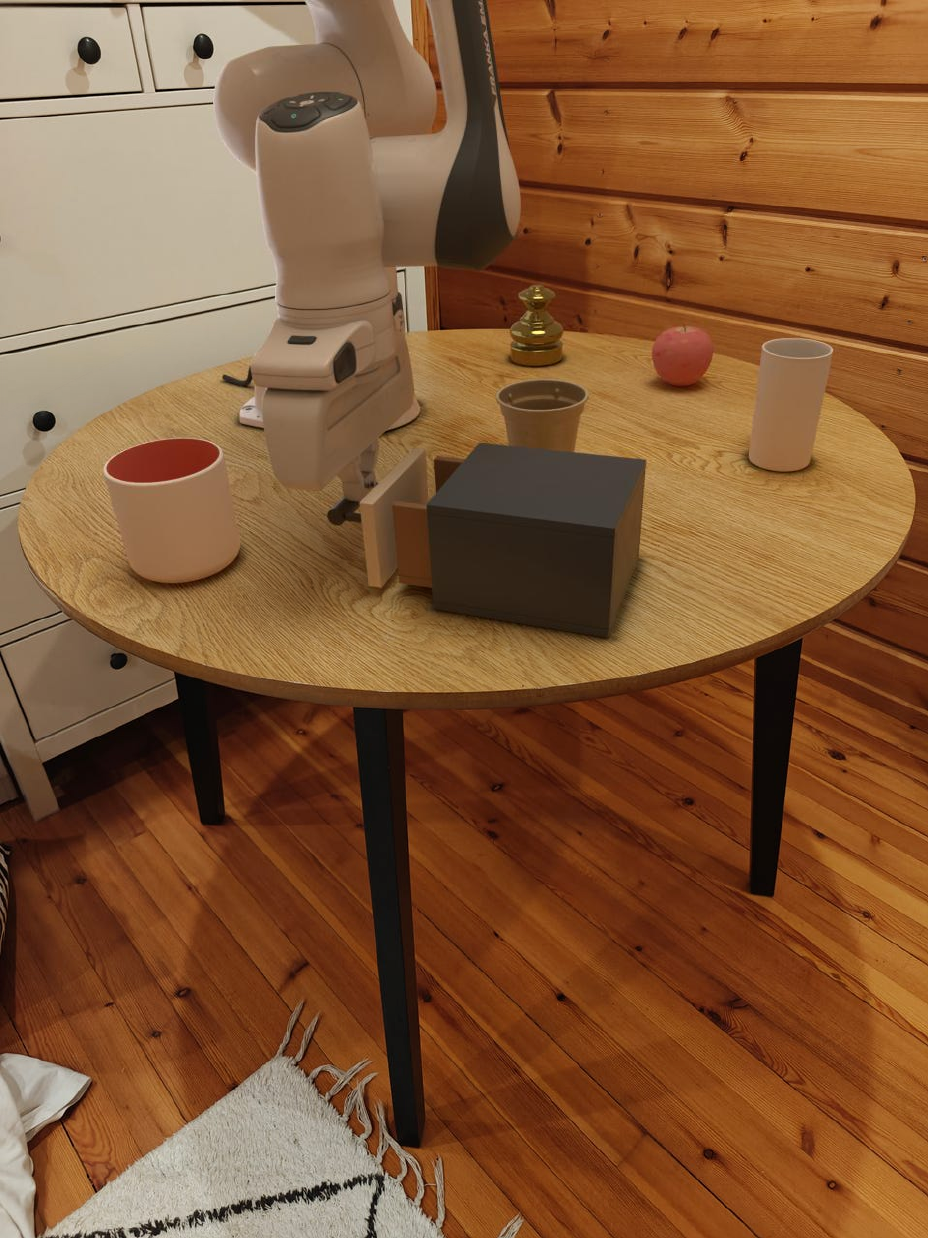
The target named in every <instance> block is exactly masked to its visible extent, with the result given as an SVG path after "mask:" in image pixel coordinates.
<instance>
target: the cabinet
mask: <svg viewBox="0 0 928 1238" xmlns="http://www.w3.org/2000/svg"><path fill="white" fill-rule="evenodd" d="M464 459H465V460H464V461H463V462H462V463H461V465H460V466H459V467H458V468H457V469H456V471H455V472H454V473H453V474H452V475H451V476H450V478H449V479H448V480H447V481H446V482H445V483H444V485H443V486H442V487H441V488H440V489H439V490H438V492H437V493H436V492H435V494H434V495H433V496H432V497H431V498H430V499H429V502H428V503H427V505H426V506H427V518H428V533H429V548H430V563H431V578H432V588H431V590H432V591H431V592H432V606H433V610H436V611H441V612H448V613H454V614H459V615H464V616H465V615H466V616H472V617H476V618H477V617H478V618H483V619H484V618H485V619H491V620H497V621H502V622H509V623H513V624H520V625H521V624H522V625H527V626H532V627H539V628H543V629H545V628H546V629H551V630H557V631H562V632H563V631H564V632H569V633H574V634H582V635H587V636H588V635H589V636H594V637H599V638H600V637H601V638H606V639H608V638H610V634H611V632H612V630H613V627H614V625H615V622H616V620H617V617H618V614H619V612H620V609H621V607H622V604H623V601H624V599H625V596H626V593H627V591H628V588H629V586H630V583H631V581H632V578H633V576H634V573H635V570H636V568H637V565H638V562H639V560H640V559H639V558H640V546H641V545H640V544H641V532H642V521H643V520H642V519H643V507H644V495H645V494H644V493H645V482H646V470H647V459H644V458H636V457H634V458H633V457H625V456H616V455H614V456H613V455H605V454H595V453H586V452H575V451H574V452H567V451H557V450H547V449H538V448H528V447H518V446H509V444H496V443H490V442H489V443H488V442H478V443H477V445H476V446H475V447H474V448H473V449H472V451H471V452H470V453H469V454H468V455H467V456H466V457H465V458H464Z"/></svg>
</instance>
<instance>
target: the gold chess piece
mask: <svg viewBox="0 0 928 1238" xmlns="http://www.w3.org/2000/svg"><path fill="white" fill-rule="evenodd" d="M555 298H556V293H555V292H554V291H553V290H551V289H549V288H547V287H545V286H544V285H542V284H532V285H530V286H529V287H528V288H525V289H523V290H522V291H520V292H519V293H518V299H519V300H520V301H521V302H522V303H523V304H524V305H525V307H526V311H525V313H524V314H523V315H522V316H520V318H519V320H518V321H515V323H513V324H512V325H511V326H510V329H509V336H510V338H511V340H512V341H511V342H510V343H509V347H510V360H511V361H512V362H513V363H516V364H517V365H520V366H527V367H545V366H551V365H553V364H556V363H559V362H560V361H561V360H562V359H563V346H564V343H563V341H562V340H560V339H561V338H562V337H563V335H564V327H563V325H562V324H561V323H559V321H556V320H554V317H553V316H551V315H550V313H549V312H548V310H547V307H548V305H549V304H550V303H551V302H552V301H553V300H554V299H555Z"/></svg>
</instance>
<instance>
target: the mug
mask: <svg viewBox="0 0 928 1238" xmlns="http://www.w3.org/2000/svg"><path fill="white" fill-rule="evenodd" d="M833 353H834V348H833V346H831V345H829V344H827V343H826V342H822V341H819V340H815V339H811V338H810V339H809V338H801V337H787V338H786V337H783V338H775V339H770V340H768V341H766V342H764V343H763V344H762V345H761V354H760V360H759V368H758V375H757V383H756V392H755V401H754V410H753V418H752V425H751V426H752V427H751V435H750V443H749V453H748V459H749V461H750V462H751V463H752V464H753V465H754V466H756V467H758V468H761V469H764V470H767V471H773V472H785V473H786V472H795V471H800V470H803V469H805V468H807V467H808V466H809V465H810V463H811V457H812V453H813V450H814V449H813V448H814V444H815V441H816V437H817V431H818V425H819V421H820V416H821V413H822V407H823V403H824V398H825V394H826V389H827V384H828V380H829V375H830V371H831V370H830V369H831V364H832V357H833Z"/></svg>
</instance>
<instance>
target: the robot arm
mask: <svg viewBox="0 0 928 1238" xmlns="http://www.w3.org/2000/svg"><path fill="white" fill-rule="evenodd" d="M303 1H304V2H305V4H306V7H307V8H308V10H309V13H310V16H311V20H312V23H313V26H314V32H315V43H309V44H308V43H307V44H294V45H293V44H292V45H291V44H290V45H275V46H267V47H263V48H261V49H258V50H254V51H251V52H248V53H246V54H243V55H241V56H239V57H236V58H233V59H231V60H229V61H227V62H226V63H224V65H223V67H222V68H221V70H220V71H219V73H218V76H217V79H216V81H215V85H214V90H213V102H212V103H213V104H212V107H213V115H214V122H215V125H216V128H217V131H218V133H219V136H220V138H221V140H222V142H223V144H224V146H225V147H226V148H227V150H228V151H229V152H230V154H231V155H232V157H233V158H234V159H236V160H237V162H239V164H241V165H242V166H244V167H245V168H247V169H248V170H250V171H251V172H252V173H253V174H255V175H256V183H257V193H258V200H259V209H260V215H261V216H260V217H261V222H262V229H263V234H264V240H265V243H266V246H267V248H268V250H269V252H270V255H271V257H272V260H273V263H274V267H275V277H276V278H275V279H276V280H275V289H274V299H275V304H276V310H277V316H278V317H277V318H275V319H274V321H273V323H272V325H271V328H270V330H269V331H268V334H267V336H266V338H265V339H264V340H263V343H262V344H261V345H260V347H259V348H258V349H257V351H256V352H255V354H254V355H253V357H252V358H251V362H250V365H249V367H248V372H247V375H246V376H247V377H246V379H244V380H240V379H237V378H235V377H232V376H230V375H228V374H222V376H221V378H222V380H224V381H226V382H229V383H231V384H233V385H235V386H239V387H247V386H249V385H250V384H251V383H252V381H253V384H254V396H253V397H251V398H250V399H248V401H246V403H244V404H243V405H242V407H241V408H240V410H239V413H238V415H239V422H240V424H243V425H247V426H251V427H256V428H261V429H263V431H264V437H265V441H266V446H267V451H268V456H269V460H270V465H271V469H272V472H273V475H274V477H275V479H276V480H277V481H278V482H279V484H280V485H282V487H283V488H286V489H289V490H298V491H299V490H300V491H307V492H308V491H310V492H319V491H322V490H323V489H324V488H326V487H327V485H329V484H330V483H331V482H332V481H333V480H334V479H335V478H336V477H337V478H338V479H339V480H340V482H341V486H342V491H343V496H344V497H345V498H346V499H348V500H349V501H358V502H360V501H362V500H363V499H364V497H365V496H366V495H367V494H368V493H369V492H370V491H371V490H372V489H373V488H374V487H375V486H376V482H377V477H376V468H377V463H378V462H377V461H378V456H379V450H380V443H379V437H381V436H382V435H383V434H384V433H386V431H390V430H394V429H397V428H399V427H402V426H404V425H407V424H409V423H410V422H412V421H413V420H415V419H416V418H417V417H418V416H419V415H420V413H421V407H420V404H419V401H418V398H417V396H416V393H415V384H414V383H415V382H414V377H413V368H412V363H411V357H410V352H409V347H408V342H407V339H406V318H405V313H404V304H403V303H404V302H403V295H402V294H401V292H399V284H398V272H397V271H398V270H397V268H400V267H401V268H403V267H404V268H405V267H406V268H407V267H410V268H411V267H414V268H415V267H416V268H417V267H438V268H439V269H440V268H441V269H446V270H447V269H448V270H460V271H461V270H462V271H471V272H482V271H483V270H485V269H486V268H488V267H489V266H491V265H492V264H493V263H495V261H497V260H498V259H499V258H500V257H501V256H502V255H504V253H506V251H507V250H508V249H509V248H510V247H511V245H512V244H513V243H514V242H515V240H516V239H517V237H518V233H519V226H520V222H521V211H522V202H521V201H522V199H521V198H522V197H521V187H520V182H519V178H518V175H517V170H516V167H515V163H514V159H513V156H512V153H511V147H510V142H509V137H508V132H507V127H506V121H505V116H504V115H505V114H504V110H503V102H502V97H501V89H500V88H501V87H500V83H499V75H498V69H497V62H496V57H495V49H494V42H493V36H492V30H491V23H490V21H491V20H490V16H489V9H488V2H487V0H424V2H425V4H426V7H427V10H428V14H429V18H430V24H431V29H432V36H433V42H434V48H435V54H436V60H437V66H438V72H439V77H440V79H439V80H440V84H441V89H442V96H443V103H444V108H445V115H446V122H445V125H444V127H443V128H442V129H441V130H439V131H438V132H435V133H430V132H431V129H432V128H433V125H434V123H435V118H436V114H437V109H438V108H437V107H438V106H437V105H438V95H437V87H436V82H435V79H434V76H433V73H432V71H431V68H430V66H429V64H428V63H427V61H426V60H425V58H424V57H423V56H422V55H421V54H420V53H419V52H418V51H417V49H415V47H414V46H413V45H412V43H411V42H410V40H409V38H408V37H407V35H406V33H405V30H404V29H403V27H402V24H401V21H400V18H399V16H398V12H397V10H396V5H395V3H394V0H303Z"/></svg>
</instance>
